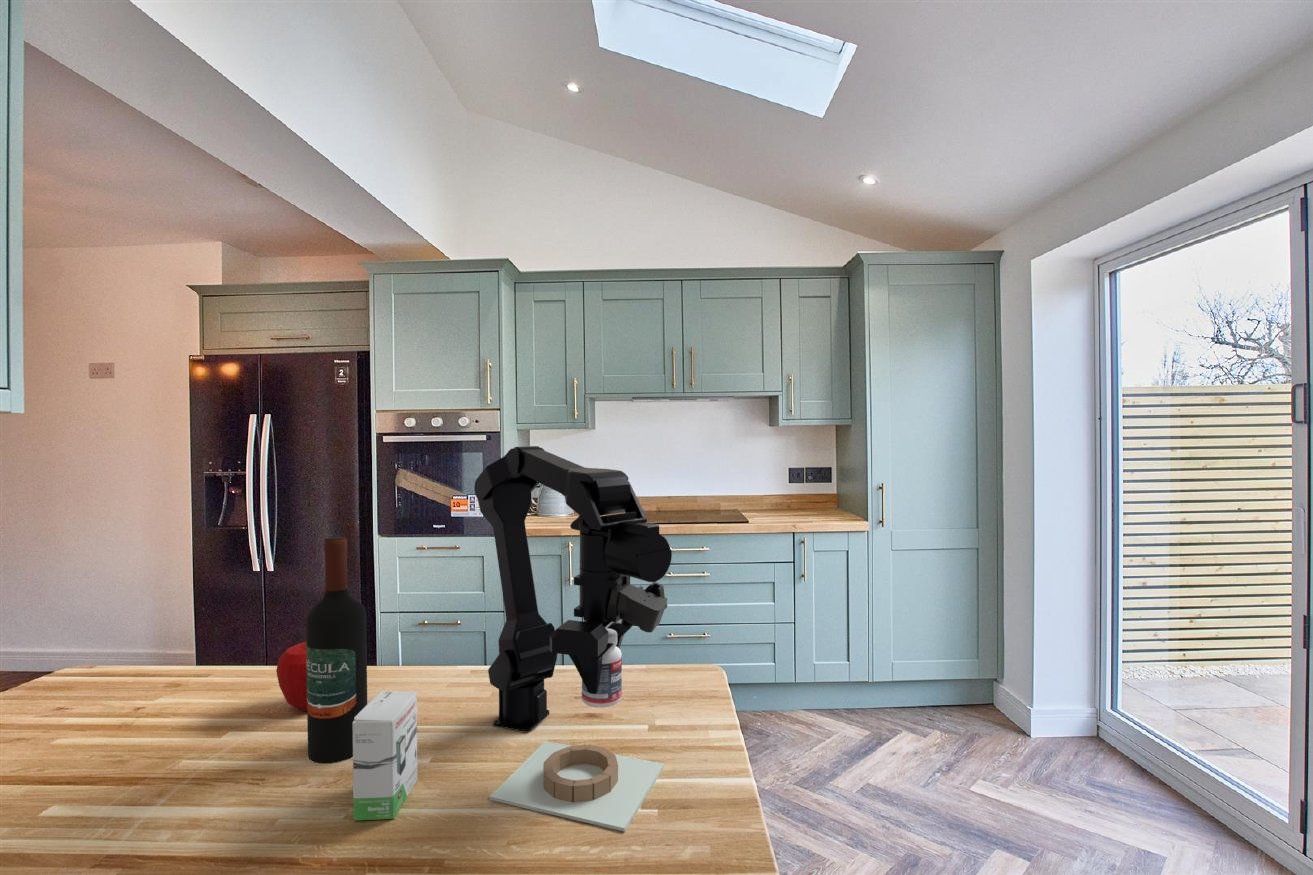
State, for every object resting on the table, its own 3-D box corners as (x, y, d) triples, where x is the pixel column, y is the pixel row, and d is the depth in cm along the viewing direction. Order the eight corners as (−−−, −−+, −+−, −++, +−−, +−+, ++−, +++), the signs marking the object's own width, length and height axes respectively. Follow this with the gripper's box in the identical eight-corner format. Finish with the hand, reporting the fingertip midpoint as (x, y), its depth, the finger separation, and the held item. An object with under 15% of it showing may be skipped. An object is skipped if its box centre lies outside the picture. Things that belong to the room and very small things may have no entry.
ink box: (394, 821, 73) (392, 721, 72) (350, 822, 72) (349, 721, 72) (419, 778, 81) (418, 688, 81) (380, 779, 81) (379, 689, 81)
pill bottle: (616, 710, 79) (617, 641, 79) (576, 707, 80) (577, 638, 80) (625, 692, 84) (625, 627, 84) (588, 689, 85) (588, 625, 85)
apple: (342, 713, 99) (341, 645, 99) (272, 724, 95) (270, 654, 95) (346, 688, 108) (345, 626, 108) (283, 697, 104) (282, 633, 104)
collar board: (489, 799, 77) (489, 780, 77) (545, 743, 90) (545, 727, 90) (624, 831, 71) (625, 810, 71) (664, 766, 84) (664, 749, 84)
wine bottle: (379, 742, 90) (377, 536, 89) (333, 768, 83) (330, 545, 82) (343, 731, 93) (340, 532, 92) (295, 755, 86) (292, 541, 86)
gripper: (637, 591, 70) (636, 727, 71) (679, 556, 88) (678, 664, 89) (547, 583, 74) (547, 713, 74) (605, 550, 91) (605, 655, 92)
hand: (601, 684), depth 82 cm, fingers closed on pill bottle, 5 cm apart
